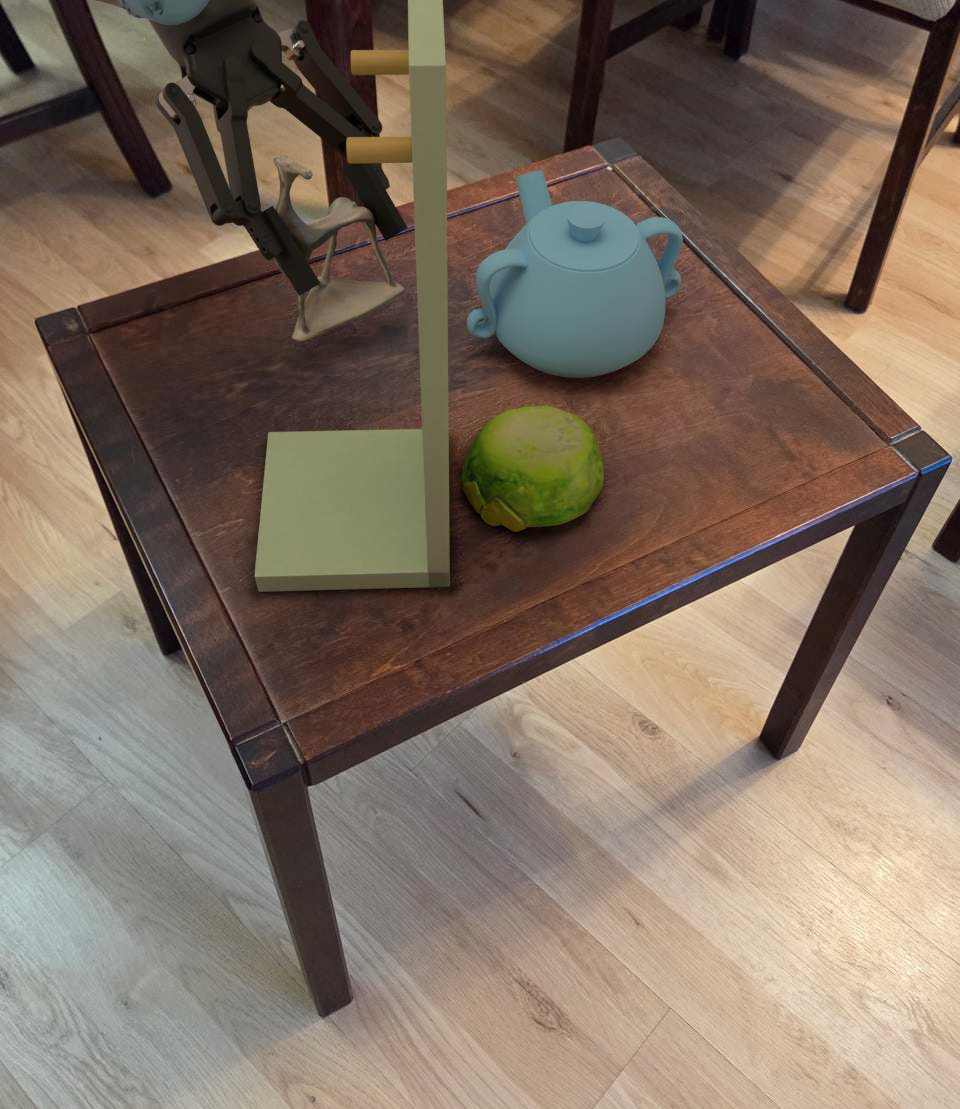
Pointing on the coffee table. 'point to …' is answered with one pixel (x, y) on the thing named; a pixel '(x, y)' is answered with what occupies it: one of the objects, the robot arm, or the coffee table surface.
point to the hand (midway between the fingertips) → (354, 261)
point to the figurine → (333, 295)
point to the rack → (378, 455)
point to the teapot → (576, 285)
